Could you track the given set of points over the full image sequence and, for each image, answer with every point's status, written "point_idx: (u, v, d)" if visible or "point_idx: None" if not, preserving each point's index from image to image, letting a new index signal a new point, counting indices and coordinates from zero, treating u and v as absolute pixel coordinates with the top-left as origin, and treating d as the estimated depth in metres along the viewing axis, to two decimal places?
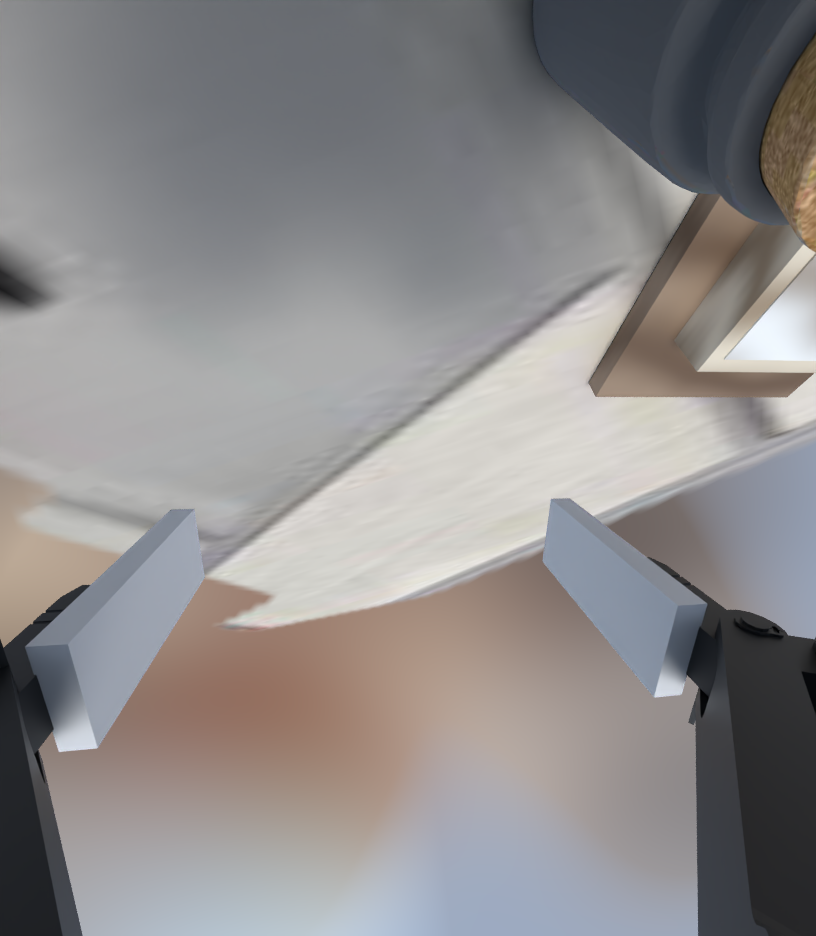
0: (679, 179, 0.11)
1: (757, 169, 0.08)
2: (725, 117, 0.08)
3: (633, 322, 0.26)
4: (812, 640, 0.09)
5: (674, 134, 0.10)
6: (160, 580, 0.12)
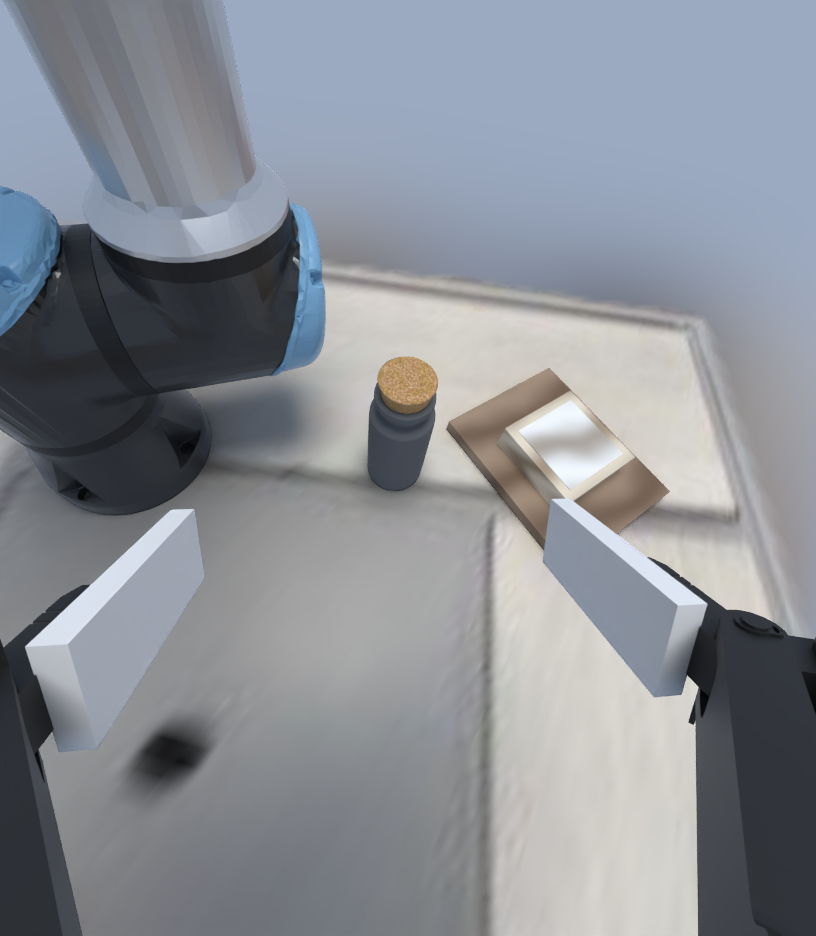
0: (408, 438, 0.34)
1: (400, 413, 0.32)
2: (386, 416, 0.33)
3: (528, 524, 0.43)
4: (812, 640, 0.09)
5: (394, 433, 0.34)
6: (160, 580, 0.12)
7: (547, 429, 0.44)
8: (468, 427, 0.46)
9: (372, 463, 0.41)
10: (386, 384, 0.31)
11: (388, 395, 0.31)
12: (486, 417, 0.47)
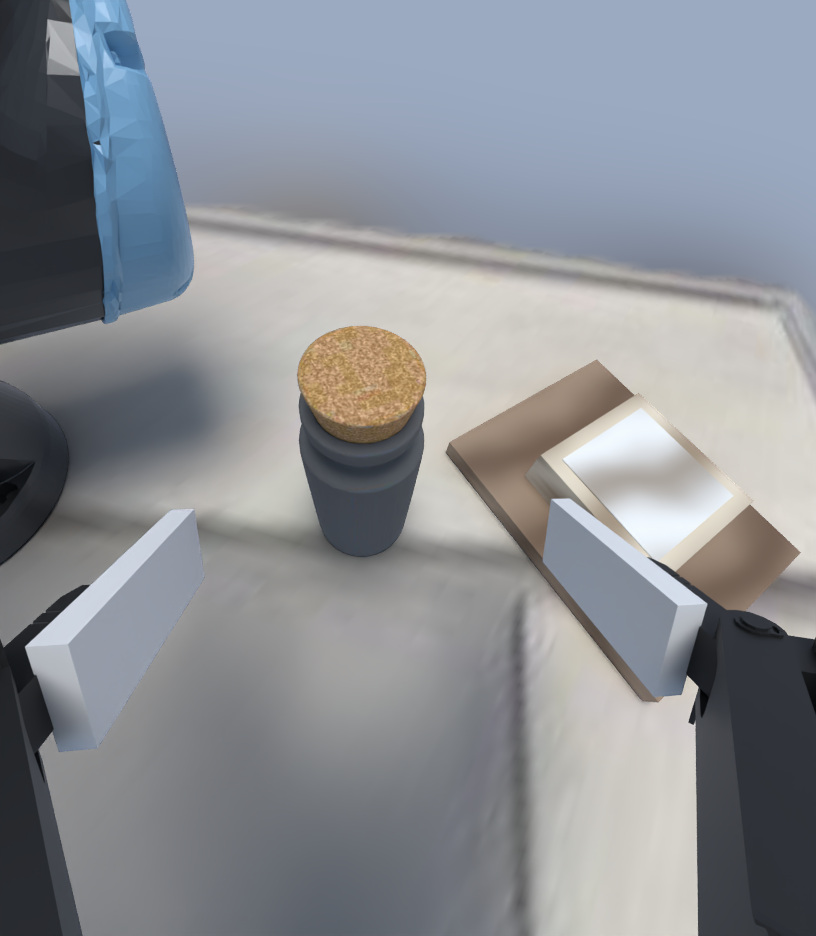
0: (371, 488, 0.18)
1: (349, 442, 0.16)
2: (320, 447, 0.16)
3: (581, 614, 0.26)
4: (812, 640, 0.09)
5: (342, 479, 0.17)
6: (160, 580, 0.12)
7: (608, 457, 0.27)
8: (479, 451, 0.30)
9: (319, 518, 0.24)
10: (315, 382, 0.15)
11: (318, 406, 0.14)
12: (507, 435, 0.31)
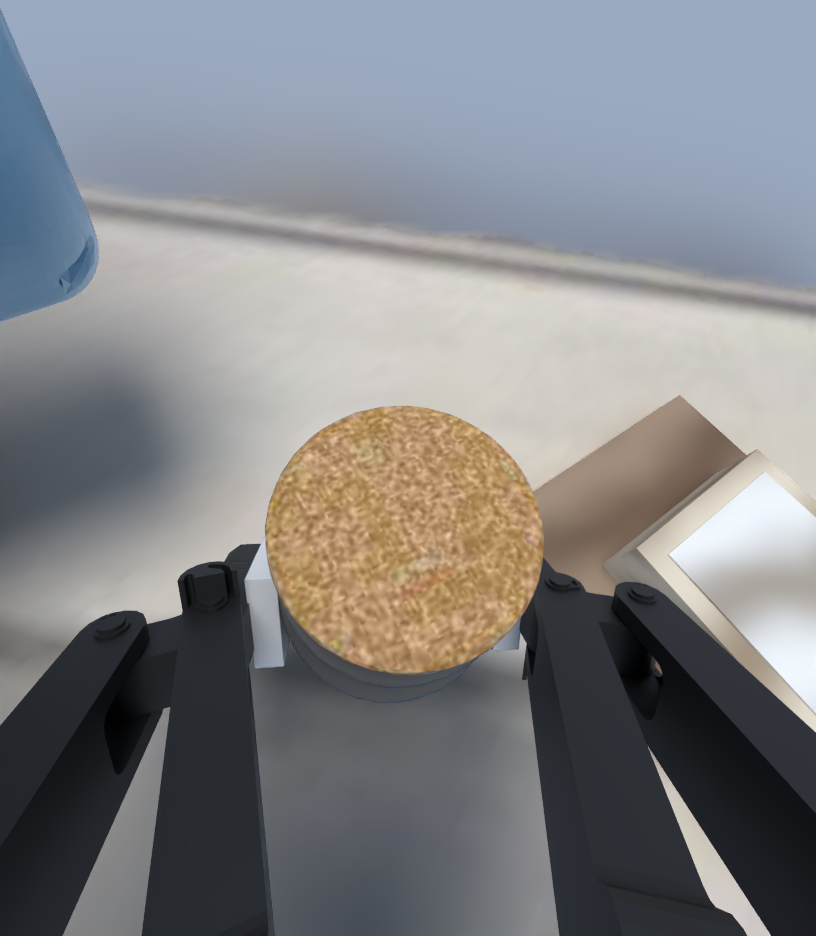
0: (411, 694, 0.10)
1: None
2: (317, 657, 0.08)
3: None
4: (610, 600, 0.11)
5: None
6: None
7: (732, 549, 0.19)
8: None
9: None
10: (303, 552, 0.06)
11: (310, 621, 0.06)
12: (574, 503, 0.23)
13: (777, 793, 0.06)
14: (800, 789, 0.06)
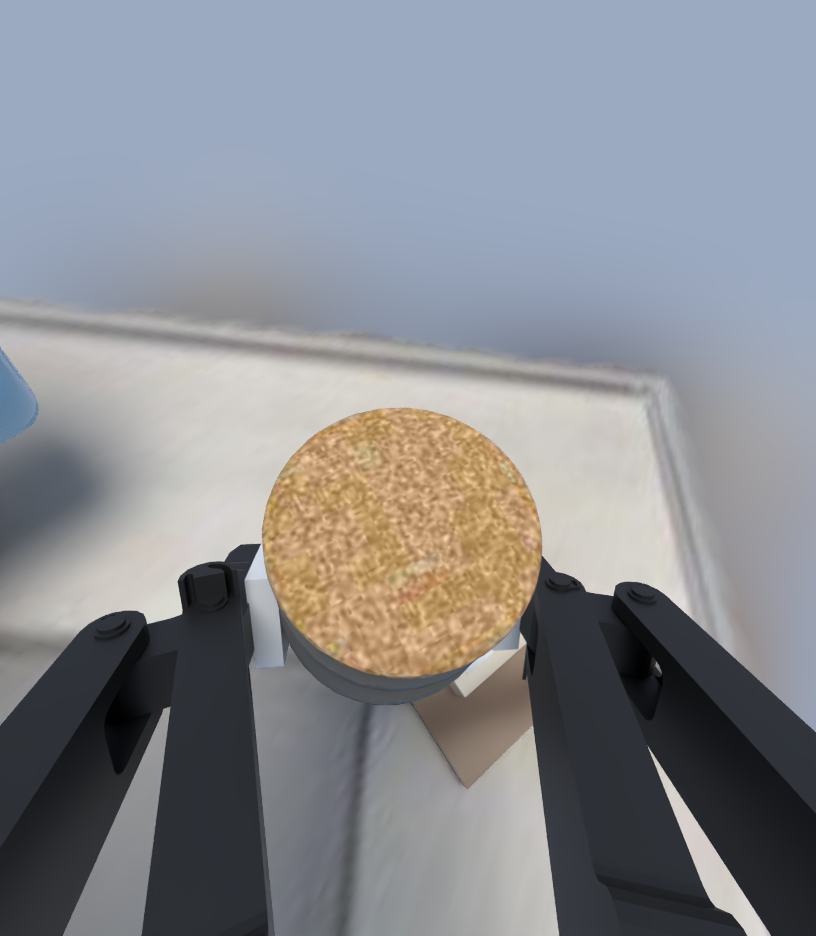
0: (410, 696, 0.09)
1: None
2: (314, 660, 0.08)
3: (417, 711, 0.31)
4: (610, 600, 0.11)
5: None
6: None
7: None
8: None
9: None
10: (301, 555, 0.06)
11: (306, 624, 0.06)
12: None
13: (778, 795, 0.06)
14: (800, 789, 0.06)
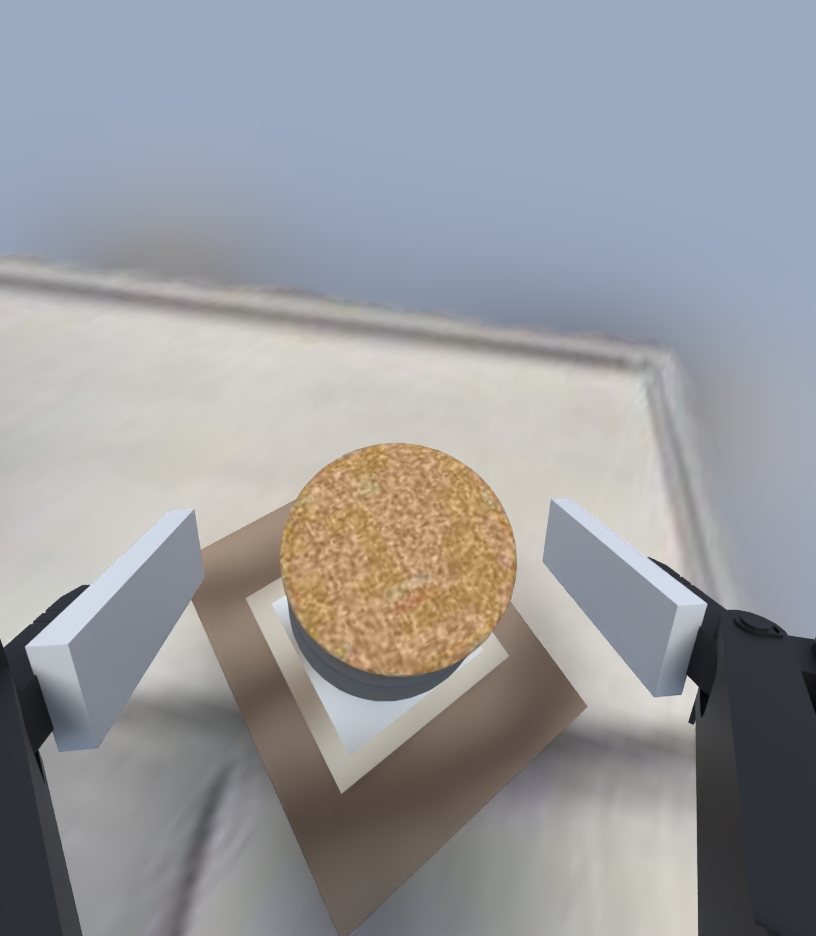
0: (406, 693, 0.11)
1: None
2: (323, 662, 0.09)
3: None
4: (812, 640, 0.09)
5: None
6: (160, 580, 0.12)
7: None
8: (210, 574, 0.25)
9: None
10: (312, 574, 0.08)
11: (318, 633, 0.07)
12: (253, 551, 0.26)
13: None
14: None
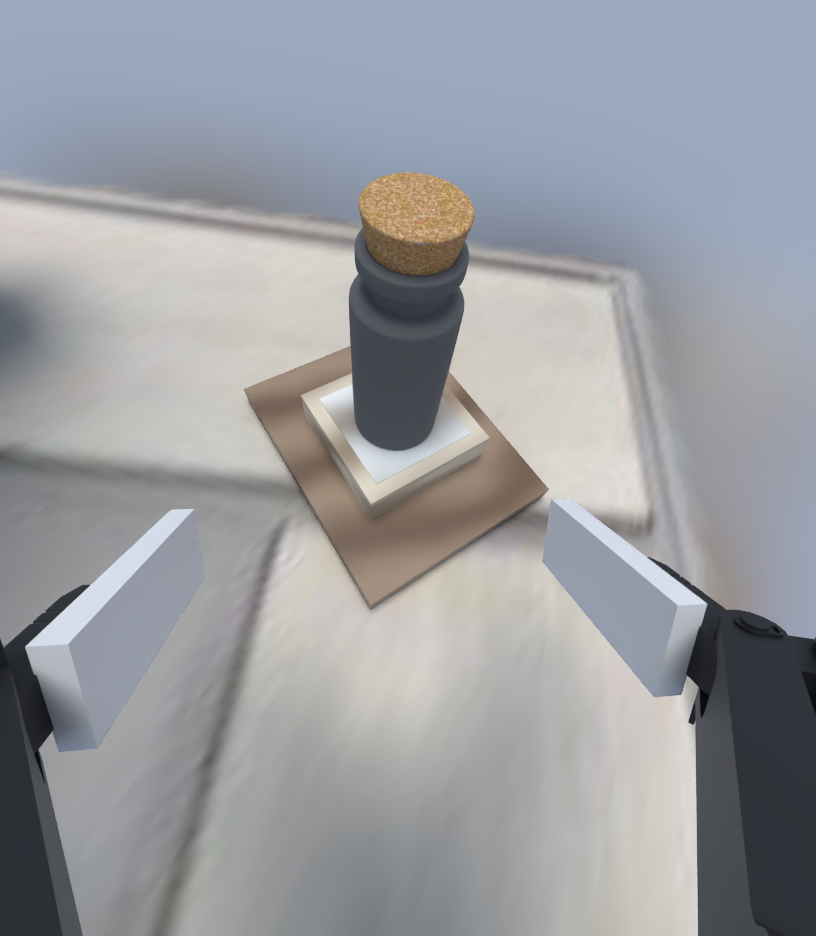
0: (418, 335, 0.19)
1: (403, 274, 0.17)
2: (376, 282, 0.17)
3: (328, 534, 0.29)
4: (812, 640, 0.09)
5: (391, 325, 0.19)
6: (160, 580, 0.12)
7: None
8: (270, 397, 0.33)
9: (359, 401, 0.25)
10: (375, 209, 0.16)
11: (379, 226, 0.16)
12: (300, 384, 0.34)
13: None
14: None
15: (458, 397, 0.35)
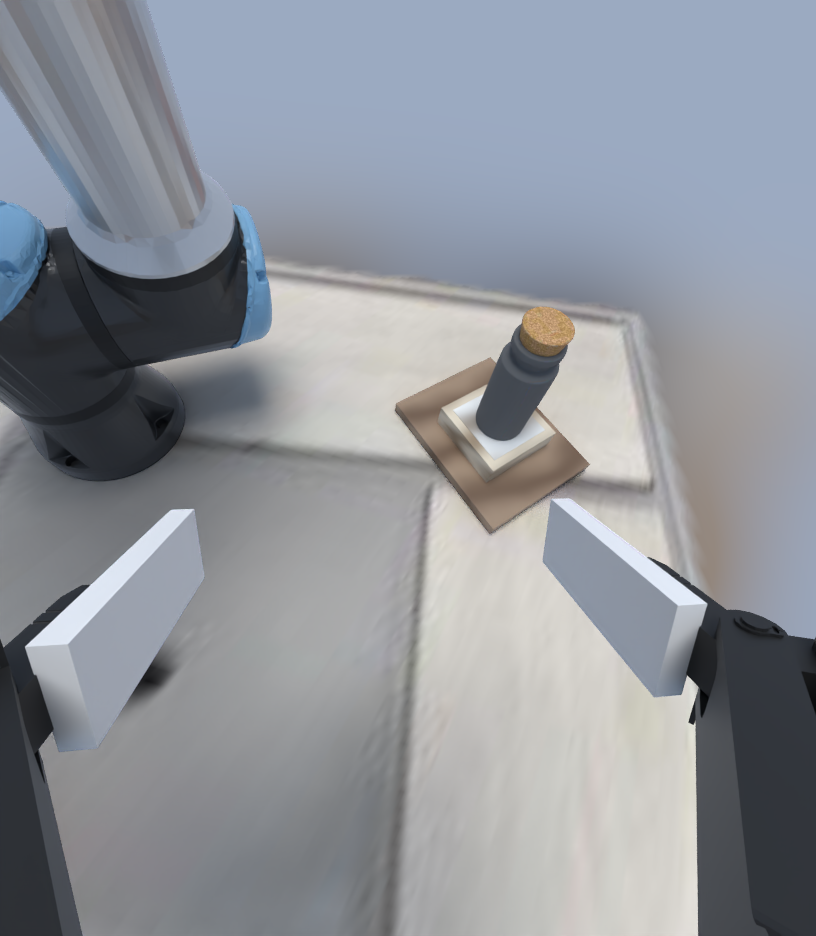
0: (540, 381, 0.39)
1: (540, 356, 0.36)
2: (526, 359, 0.37)
3: (461, 491, 0.49)
4: (812, 640, 0.09)
5: (527, 377, 0.38)
6: (160, 580, 0.12)
7: None
8: (413, 408, 0.53)
9: (489, 412, 0.45)
10: (531, 329, 0.35)
11: (535, 338, 0.35)
12: (430, 400, 0.53)
13: None
14: None
15: None
